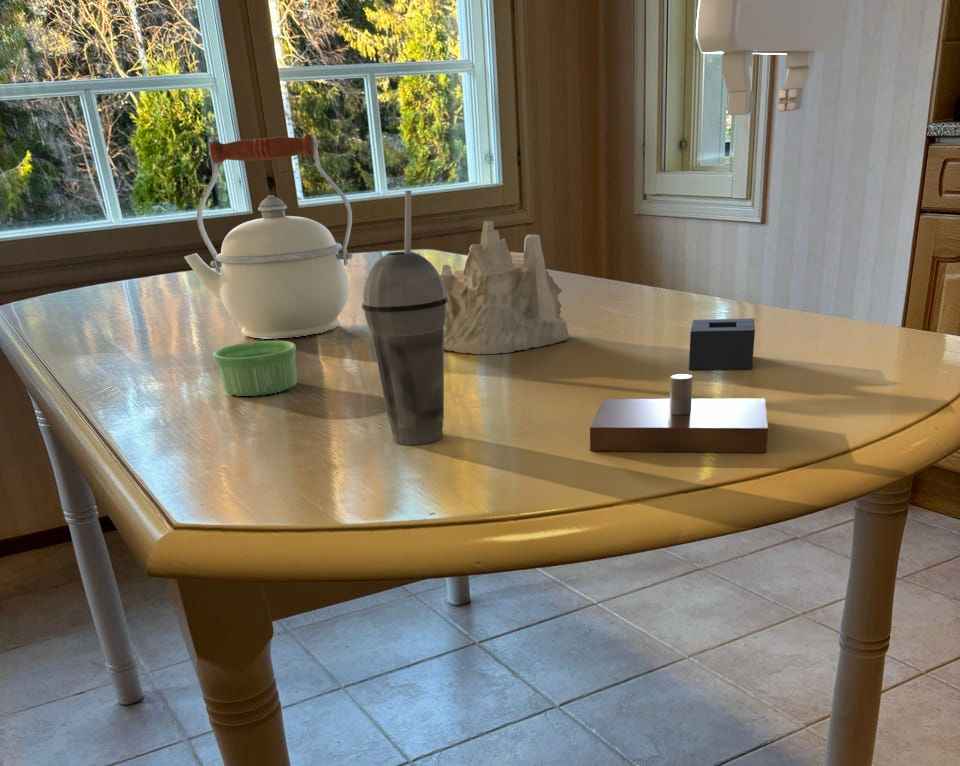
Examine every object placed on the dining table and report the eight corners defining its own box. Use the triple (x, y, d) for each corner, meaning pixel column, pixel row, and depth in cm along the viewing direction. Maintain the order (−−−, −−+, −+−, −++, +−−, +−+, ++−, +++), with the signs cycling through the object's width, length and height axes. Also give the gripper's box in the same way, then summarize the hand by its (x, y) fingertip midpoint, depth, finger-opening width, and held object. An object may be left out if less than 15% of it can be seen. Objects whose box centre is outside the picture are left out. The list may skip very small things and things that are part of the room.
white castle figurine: (584, 338, 116) (574, 206, 109) (466, 364, 110) (448, 227, 104) (527, 329, 129) (514, 211, 122) (418, 351, 123) (399, 229, 117)
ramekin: (315, 379, 106) (310, 340, 104) (275, 400, 99) (268, 358, 97) (249, 378, 109) (242, 339, 107) (204, 398, 102) (196, 357, 100)
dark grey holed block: (751, 355, 103) (754, 318, 101) (752, 369, 97) (754, 330, 95) (691, 356, 104) (693, 319, 102) (688, 370, 99) (690, 331, 97)
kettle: (377, 315, 142) (356, 130, 130) (350, 339, 127) (323, 132, 115) (221, 323, 146) (187, 143, 134) (176, 347, 130) (132, 146, 118)
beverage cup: (368, 433, 85) (339, 194, 76) (443, 421, 87) (423, 186, 78) (390, 454, 79) (360, 197, 70) (469, 441, 81) (451, 188, 72)
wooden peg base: (763, 421, 81) (768, 362, 78) (766, 453, 73) (771, 389, 71) (603, 420, 84) (603, 364, 82) (589, 451, 77) (589, 390, 74)
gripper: (755, -100, 68) (741, 115, 75) (867, -74, 81) (847, 107, 88) (681, -84, 72) (673, 119, 79) (799, -62, 85) (784, 111, 92)
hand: (766, 113), depth 84 cm, fingers open, 8 cm apart
